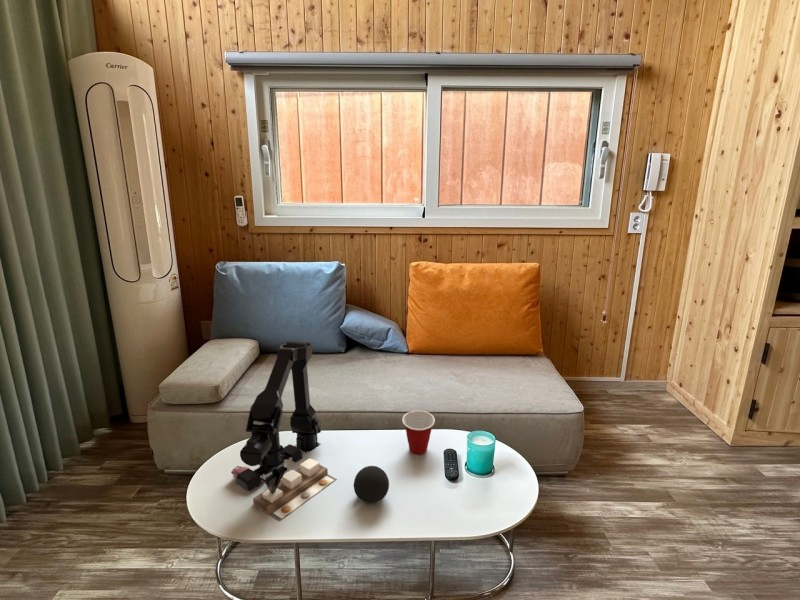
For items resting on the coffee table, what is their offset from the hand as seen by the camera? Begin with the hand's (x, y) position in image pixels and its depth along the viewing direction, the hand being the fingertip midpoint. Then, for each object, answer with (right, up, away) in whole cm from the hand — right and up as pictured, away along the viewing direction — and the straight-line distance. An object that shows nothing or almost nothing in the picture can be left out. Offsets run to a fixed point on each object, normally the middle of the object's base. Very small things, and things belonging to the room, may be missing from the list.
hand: (272, 492), depth 130 cm
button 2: (+8, +1, +11) cm, 14 cm away
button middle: (+4, 0, +6) cm, 7 cm away
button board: (+6, -2, +5) cm, 8 cm away
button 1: (0, -3, +1) cm, 3 cm away
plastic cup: (+42, +3, +26) cm, 49 cm away
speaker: (+28, -3, +3) cm, 28 cm away
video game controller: (-10, -1, +10) cm, 14 cm away
